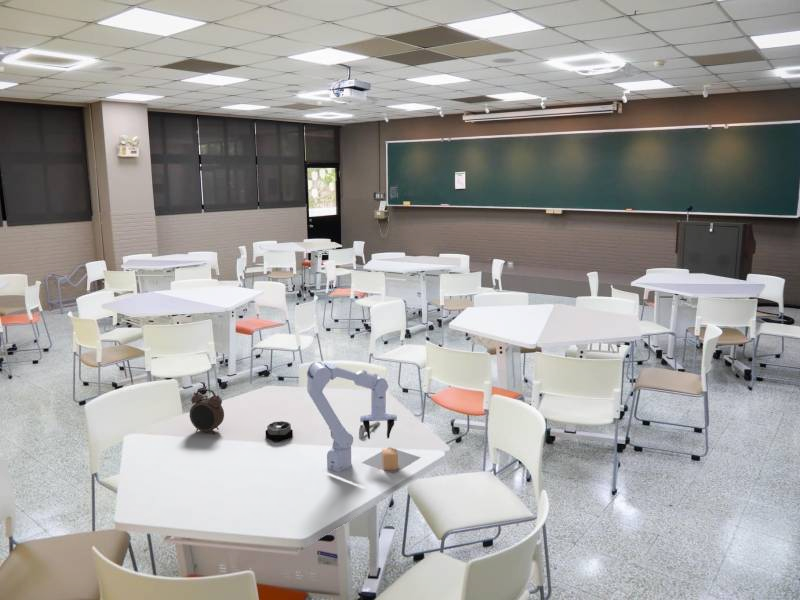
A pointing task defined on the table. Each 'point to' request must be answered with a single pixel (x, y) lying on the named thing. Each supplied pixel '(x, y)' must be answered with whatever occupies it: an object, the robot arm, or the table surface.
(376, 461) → the duct panel
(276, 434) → the cpu cooler
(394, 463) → the orange cube
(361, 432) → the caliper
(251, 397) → the table surface
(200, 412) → the alarm clock
